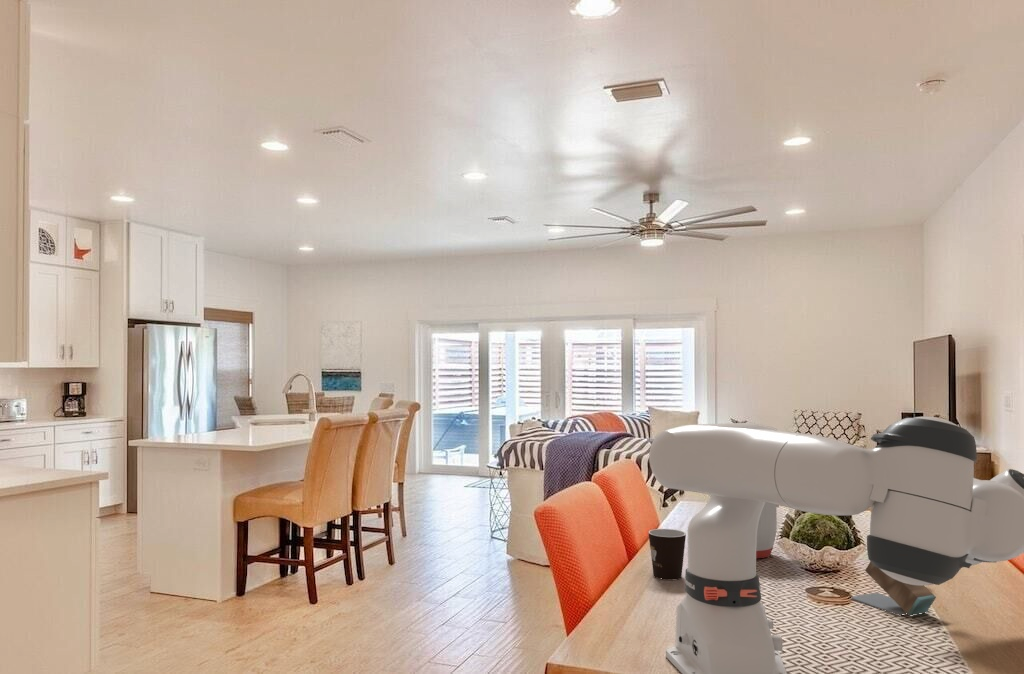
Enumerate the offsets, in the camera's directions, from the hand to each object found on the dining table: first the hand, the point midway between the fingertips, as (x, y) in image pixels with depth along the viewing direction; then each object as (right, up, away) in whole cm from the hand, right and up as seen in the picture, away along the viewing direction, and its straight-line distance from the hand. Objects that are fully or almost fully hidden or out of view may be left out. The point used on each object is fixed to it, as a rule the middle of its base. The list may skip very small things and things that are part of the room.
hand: (921, 575), depth 143 cm
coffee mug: (-44, -9, +29) cm, 53 cm away
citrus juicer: (-18, -10, +48) cm, 52 cm away
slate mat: (-3, -8, +7) cm, 11 cm away
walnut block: (0, -6, -1) cm, 6 cm away
